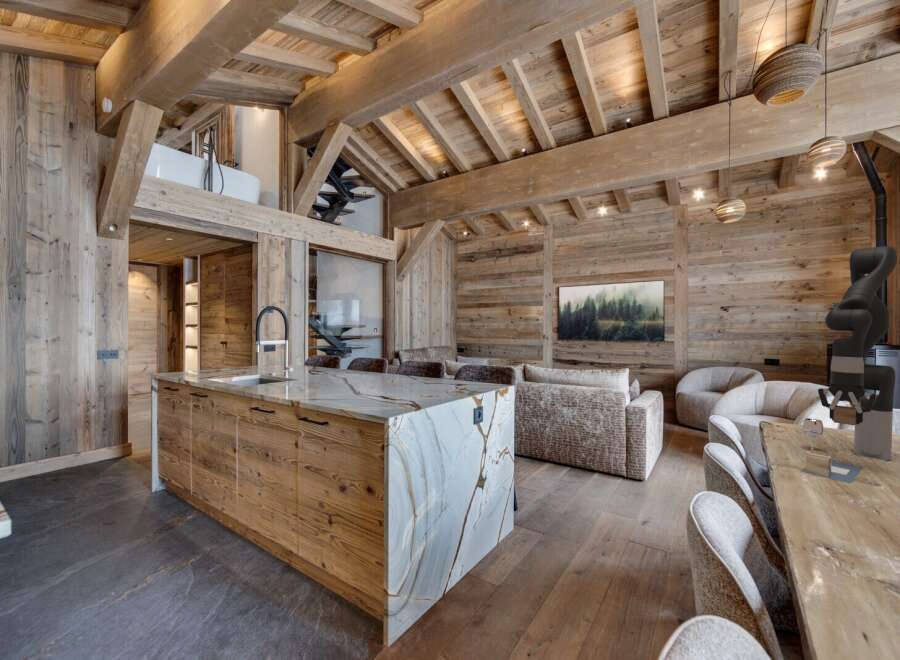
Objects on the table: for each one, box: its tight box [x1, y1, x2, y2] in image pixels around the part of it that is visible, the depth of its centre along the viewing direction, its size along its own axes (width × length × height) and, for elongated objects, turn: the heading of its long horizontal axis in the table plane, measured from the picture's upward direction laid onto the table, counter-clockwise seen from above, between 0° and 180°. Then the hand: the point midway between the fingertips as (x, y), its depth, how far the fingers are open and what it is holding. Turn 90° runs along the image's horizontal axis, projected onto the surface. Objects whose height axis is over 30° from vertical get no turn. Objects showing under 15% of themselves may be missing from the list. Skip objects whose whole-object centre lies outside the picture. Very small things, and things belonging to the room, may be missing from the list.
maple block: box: [805, 452, 833, 478], centre depth 122 cm, size 5×5×5 cm
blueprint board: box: [800, 460, 864, 484], centre depth 125 cm, size 23×11×1 cm, turn 127°
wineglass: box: [802, 417, 825, 451], centre depth 146 cm, size 6×6×12 cm
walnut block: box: [833, 404, 857, 427], centre depth 129 cm, size 5×5×5 cm
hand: (845, 421), depth 129 cm, fingers closed on walnut block, 5 cm apart
